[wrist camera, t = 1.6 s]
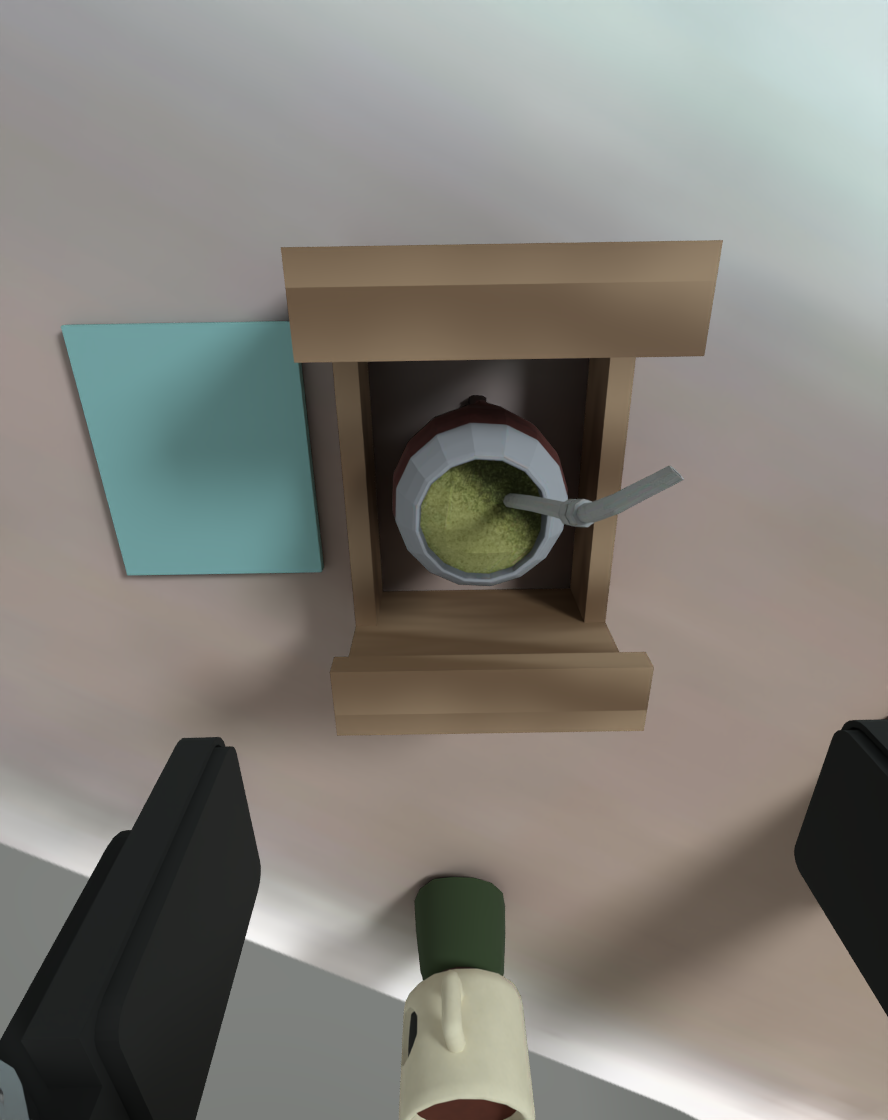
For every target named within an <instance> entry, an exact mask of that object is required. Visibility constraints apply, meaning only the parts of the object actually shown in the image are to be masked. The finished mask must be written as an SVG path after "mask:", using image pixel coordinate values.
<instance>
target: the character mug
mask: <svg viewBox="0 0 888 1120" xmlns="http://www.w3.org/2000/svg"><path fill="white" fill-rule="evenodd" d="M414 902H415V920H416V934H417V943H418V953H419V962H420V971H421V975H422V978H423V981H422V982H420V983H419V984H418V985H417V986H416V987H415V988H414V989H413V991H412V992H411V993H410V994H409V996H408V998H407V1000H406V1002H405V1008H404V1016H403V1037H402V1062H401V1081H400V1102H399V1120H535V1110H534V1101H533V1092H532V1083H531V1074H530V1065H529V1057H528V1048H527V1039H526V1030H525V1022H524V1013H523V1005H522V1000H521V996H520V994H519V992H518V990H517V989H516V987H515V985H514V984H513V983H512V982H511V981H509V980H507V979H506V978H504V977H503V974H504V953H505V904H504V898H503V893H502V892H501V891H500V890H499V889H498V888H497V887H496V886H494V885H493V884H492V883H490V882H486V881H483V880H480V879H476V878H465V877H449V878H439V879H433V880H432V881H430V882H429V883H428V884H426V885H425V886H424V887H422V888H421V889H420V890H419V893H418V895H417V897H416V899H415V901H414Z"/></svg>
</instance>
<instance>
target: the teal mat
mask: <svg viewBox="0 0 888 1120" xmlns="http://www.w3.org/2000/svg"><path fill="white" fill-rule="evenodd" d="M61 329H62V332H63V336H64V340H65V344H66V347H67V351H68V355H69V359H70V362H71V366H72V370H73V374H74V377H75V381H76V385H77V389H78V392H79V396H80V400H81V403H82V407H83V411H84V415H85V418H86V422H87V426H88V430H89V433H90V437H91V441H92V445H93V448H94V452H95V456H96V460H97V463H98V467H99V471H100V475H101V478H102V482H103V486H104V490H105V493H106V497H107V501H108V505H109V508H110V512H111V516H112V520H113V523H114V527H115V531H116V535H117V538H118V542H119V546H120V550H121V553H122V557H123V561H124V565H125V568H126V572H127V575H177V574H239V573H301V572H322V570H323V568H324V564H323V555H322V546H321V537H320V528H319V519H318V510H317V501H316V492H315V483H314V474H313V465H312V456H311V447H310V438H309V428H308V419H307V410H306V401H305V392H304V383H303V374H302V365H301V363H294V357H293V348H292V340H291V331H290V322H289V321H266V322H204V323H142V324H80V325H63V326H61Z"/></svg>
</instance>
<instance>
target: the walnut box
mask: <svg viewBox="0 0 888 1120" xmlns="http://www.w3.org/2000/svg"><path fill="white" fill-rule="evenodd" d="M722 242H723V240H712V241H650V242H588V243H526V244H464V245H402V246H340V247H281V253H282V262H283V270H284V279H285V288H286V296H287V305H288V314H289V322H290V331H291V340H292V348H293V357H294V363H307V362H332V365H333V376H334V387H335V398H336V409H337V421H338V432H339V443H340V454H341V465H342V476H343V488H344V499H345V510H346V521H347V532H348V543H349V554H350V566H351V577H352V588H353V599H354V610H355V621H356V628H355V632H354V637H353V641H352V645H351V649H350V653H349V657H334V659H333V663H332V667H331V670H330V677H331V686H332V695H333V703H334V712H335V721H336V729H337V736H343V735H406V734H468V733H530V732H593V731H644V725H645V719H646V713H647V707H648V701H649V694H650V688H651V682H652V676H653V670H654V667H653V665H652V663H651V661H650V659H649V657H648V656H647V654H646V652H619V650H618V648H617V646H616V644H615V642H614V640H613V638H612V636H611V634H610V631H609V629H608V627H607V625H606V623H605V619H606V611H607V602H608V593H609V585H610V576H611V567H612V559H613V550H614V541H615V533H616V524H617V515H618V514H617V515H614V516H611V517H608V518H606V519H603V520H600V521H597V522H594V523H593V524H591V525H590V526H589V527H575V538H574V550H573V561H572V573H571V585H570V588H564V589H502V590H440V591H383V586H382V571H381V556H380V540H379V525H378V510H377V495H376V479H375V464H374V449H373V434H372V418H371V403H370V388H369V373H368V362H369V361H431V360H493V359H555V358H590V360H589V372H588V384H587V395H586V407H585V419H584V431H583V443H582V455H581V467H580V478H579V490H578V499H586V500H589V501H592V502H593V501H596V500H598V499H601V498H604V497H607V496H609V495H612V494H614V493H616V492H618V491H620V489H621V481H622V472H623V463H624V455H625V446H626V437H627V429H628V420H629V411H630V403H631V394H632V385H633V377H634V368H635V360H636V357H679V356H704V354H705V348H706V341H707V335H708V329H709V323H710V317H711V310H712V304H713V298H714V292H715V286H716V279H717V273H718V267H719V261H720V255H721V248H722Z"/></svg>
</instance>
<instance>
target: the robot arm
mask: <svg viewBox="0 0 888 1120" xmlns="http://www.w3.org/2000/svg"><path fill="white" fill-rule="evenodd" d="M794 855H795V861H796V864H797V867H798V870H799V872H800V873H801V875H802V877H803V878H804V880H805V882H806V883H807V885H808V887H809V888H810V890H811V892H812V893H813V895H814V896H815V898H816V900H817V901H818V903H819V905H820V906H821V908H822V910H823V911H824V913H825V915H826V916H827V918H828V919H829V921H830V923H831V924H832V926H833V928H834V929H835V931H836V933H837V934H838V936H839V937H840V939H841V941H842V942H843V944H844V946H845V947H846V949H847V951H848V952H849V954H850V955H851V957H852V959H853V960H854V962H855V964H856V965H857V967H858V969H859V970H860V972H861V973H862V975H863V977H864V978H865V980H866V982H867V983H868V985H869V987H870V988H871V990H872V992H873V993H874V995H875V996H876V998H877V1000H878V1001H879V1003H880V1005H881V1006H882V1008H883V1010H884V1011H885V1013H886V1014H887V1016H888V719H881V720H852V721H848V722H847V723H845V724H844V726H843V727H842V729H841V730H838V731H837V732H836V733H835V734H834V736H833V738H832V741H831V743H830V746H829V749H828V752H827V755H826V758H825V761H824V764H823V767H822V770H821V772H820V775H819V778H818V781H817V784H816V787H815V790H814V793H813V796H812V798H811V801H810V804H809V807H808V810H807V813H806V816H805V819H804V822H803V824H802V827H801V830H800V833H799V836H798V839H797V842H796V845H795V849H794ZM260 875H261V865H260V859H259V855H258V850H257V845H256V841H255V836H254V831H253V827H252V822H251V818H250V813H249V808H248V804H247V799H246V795H245V790H244V785H243V781H242V776H241V771H240V767H239V762H238V758H237V753H236V750H235V748H234V747H225V744H224V741H223V740H222V738H220V737H206V738H183V739H181V740H180V741H179V742H178V743H177V745H176V746H175V748H174V750H173V752H172V754H171V756H170V758H169V760H168V762H167V764H166V765H165V767H164V769H163V771H162V773H161V775H160V777H159V779H158V781H157V783H156V784H155V786H154V788H153V790H152V792H151V794H150V796H149V798H148V800H147V802H146V803H145V805H144V807H143V809H142V811H141V813H140V815H139V817H138V819H137V821H136V822H135V824H134V826H133V828H132V830H126V831H121V832H120V833H119V834H117V835H116V836H115V837H114V838H113V839H112V841H111V842H110V844H109V845H108V846H107V848H106V850H105V851H104V853H103V855H102V857H101V859H100V861H99V862H98V864H97V866H96V868H95V870H94V871H93V873H92V875H91V877H90V879H89V880H88V882H87V884H86V886H85V888H84V889H83V891H82V893H81V895H80V897H79V899H78V900H77V902H76V904H75V906H74V908H73V910H72V911H71V913H70V915H69V917H68V918H67V920H66V922H65V924H64V926H63V928H62V929H61V931H60V933H59V935H58V937H57V938H56V940H55V942H54V944H53V946H52V947H51V949H50V951H49V953H48V955H47V956H46V958H45V960H44V962H43V964H42V966H41V967H40V969H39V971H38V973H37V975H36V976H35V978H34V980H33V982H32V983H31V985H30V987H29V989H28V991H27V993H26V994H25V996H24V998H23V1000H22V1002H21V1004H20V1006H19V1007H18V1009H17V1011H16V1013H15V1014H14V1016H13V1018H12V1020H11V1021H10V1023H9V1025H8V1027H7V1029H6V1031H5V1032H4V1034H3V1036H2V1038H1V1040H0V1120H195V1119H196V1116H197V1112H198V1108H199V1105H200V1101H201V1097H202V1094H203V1090H204V1086H205V1083H206V1079H207V1075H208V1072H209V1068H210V1064H211V1060H212V1057H213V1053H214V1050H215V1046H216V1042H217V1039H218V1035H219V1031H220V1028H221V1024H222V1021H223V1017H224V1013H225V1010H226V1006H227V1002H228V999H229V995H230V991H231V988H232V984H233V980H234V977H235V973H236V969H237V966H238V962H239V958H240V955H241V951H242V947H243V944H244V940H245V936H246V933H247V929H248V925H249V922H250V918H251V914H252V911H253V907H254V903H255V900H256V896H257V892H258V888H259V884H260Z"/></svg>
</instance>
